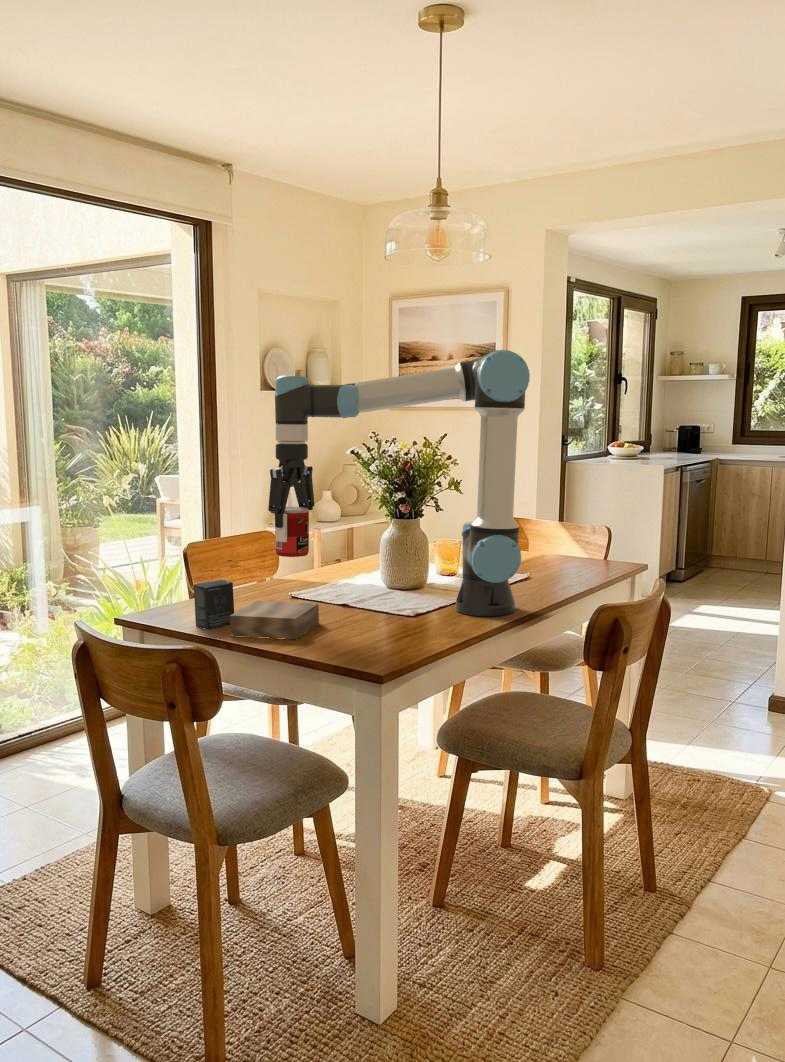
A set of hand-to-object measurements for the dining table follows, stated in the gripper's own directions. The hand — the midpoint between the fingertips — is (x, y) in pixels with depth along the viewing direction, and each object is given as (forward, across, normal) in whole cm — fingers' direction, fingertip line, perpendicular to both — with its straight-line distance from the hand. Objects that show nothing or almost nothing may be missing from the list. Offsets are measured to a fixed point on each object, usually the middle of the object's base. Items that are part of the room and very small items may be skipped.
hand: (292, 539), depth 217 cm
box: (+22, +8, -18) cm, 29 cm away
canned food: (+4, 0, 0) cm, 4 cm away
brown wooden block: (+21, +4, -2) cm, 22 cm away
